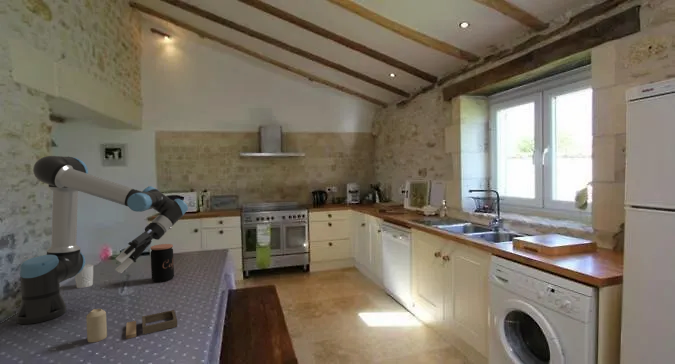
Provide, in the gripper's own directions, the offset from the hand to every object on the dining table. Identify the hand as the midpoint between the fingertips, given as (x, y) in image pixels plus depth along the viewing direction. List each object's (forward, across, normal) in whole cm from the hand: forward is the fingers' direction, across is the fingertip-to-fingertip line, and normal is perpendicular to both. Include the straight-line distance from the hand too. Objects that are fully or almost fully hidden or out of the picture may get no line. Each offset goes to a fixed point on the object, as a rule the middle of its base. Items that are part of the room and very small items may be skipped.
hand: (118, 266), depth 135 cm
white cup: (+2, +60, +17) cm, 62 cm away
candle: (+23, -4, -14) cm, 27 cm away
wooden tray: (+10, -5, -27) cm, 29 cm away
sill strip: (+16, -5, -21) cm, 26 cm away
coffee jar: (-18, +47, -12) cm, 52 cm away
